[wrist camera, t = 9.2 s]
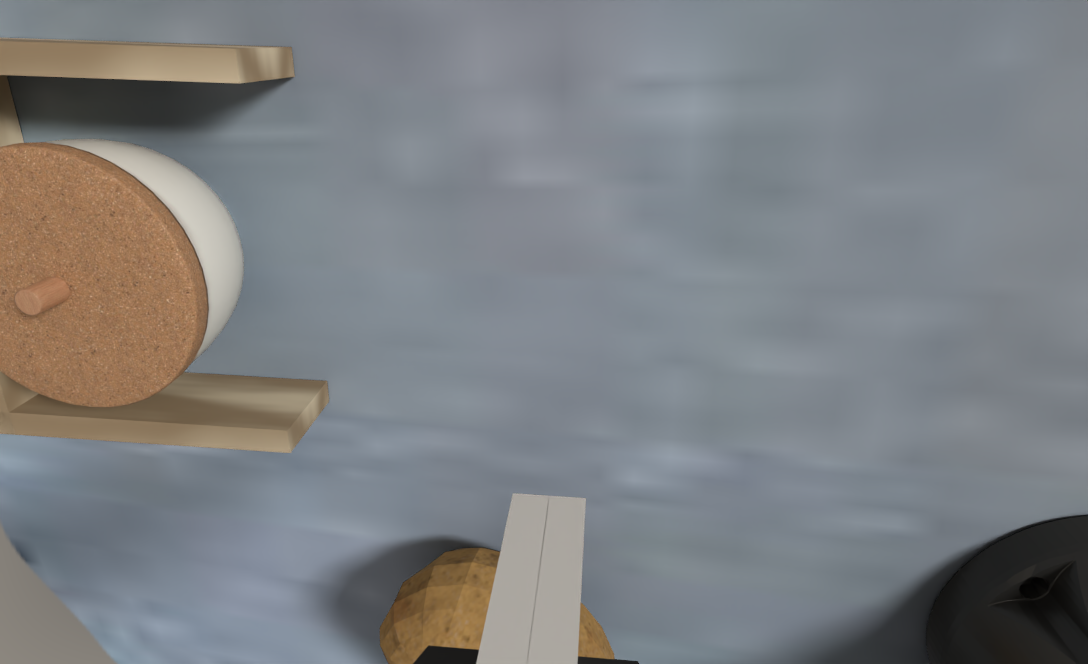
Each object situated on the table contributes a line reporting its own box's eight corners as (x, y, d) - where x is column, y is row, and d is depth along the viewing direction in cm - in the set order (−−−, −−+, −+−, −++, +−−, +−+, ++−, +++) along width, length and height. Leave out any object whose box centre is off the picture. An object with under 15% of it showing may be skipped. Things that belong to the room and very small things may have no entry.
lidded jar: (110, 343, 36) (-41, 437, 28) (30, 133, 32) (-177, 168, 24) (304, 328, 35) (208, 422, 27) (247, 109, 31) (112, 136, 23)
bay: (329, 401, 37) (290, 453, 32) (66, 384, 38) (-9, 433, 33) (291, 47, 30) (235, 48, 25) (-29, 36, 31) (-140, 36, 26)
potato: (554, 695, 44) (545, 826, 37) (375, 576, 41) (326, 692, 34) (661, 611, 41) (674, 737, 33) (473, 475, 38) (443, 580, 31)
